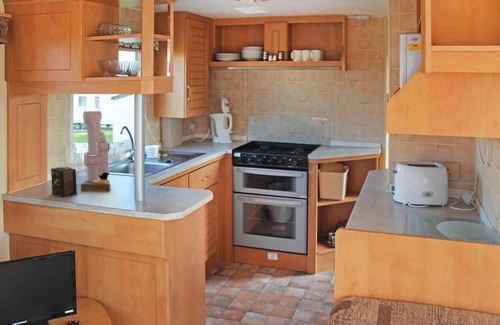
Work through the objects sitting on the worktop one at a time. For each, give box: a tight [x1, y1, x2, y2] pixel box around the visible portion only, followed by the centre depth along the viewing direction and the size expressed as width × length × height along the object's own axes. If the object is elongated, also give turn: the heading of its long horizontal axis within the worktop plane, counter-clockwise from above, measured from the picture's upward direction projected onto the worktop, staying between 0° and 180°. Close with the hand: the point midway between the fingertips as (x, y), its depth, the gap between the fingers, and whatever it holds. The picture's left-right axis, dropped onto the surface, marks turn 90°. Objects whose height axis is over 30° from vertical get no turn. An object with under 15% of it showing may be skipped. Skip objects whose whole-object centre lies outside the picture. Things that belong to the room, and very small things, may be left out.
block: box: [91, 179, 111, 185], centre depth 293 cm, size 6×8×5 cm
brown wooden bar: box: [80, 182, 111, 193], centre depth 289 cm, size 3×16×4 cm, turn 89°
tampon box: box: [50, 166, 78, 198], centre depth 278 cm, size 11×9×15 cm
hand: (103, 184), depth 298 cm, fingers closed
